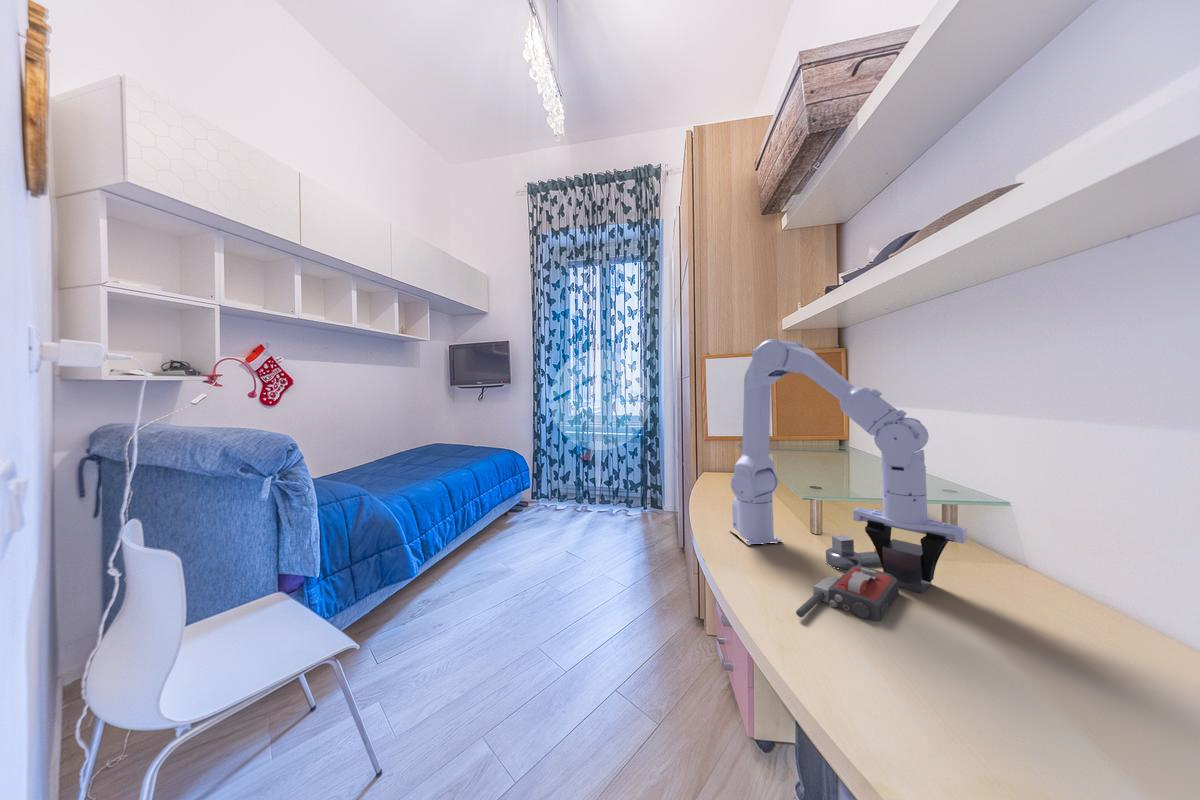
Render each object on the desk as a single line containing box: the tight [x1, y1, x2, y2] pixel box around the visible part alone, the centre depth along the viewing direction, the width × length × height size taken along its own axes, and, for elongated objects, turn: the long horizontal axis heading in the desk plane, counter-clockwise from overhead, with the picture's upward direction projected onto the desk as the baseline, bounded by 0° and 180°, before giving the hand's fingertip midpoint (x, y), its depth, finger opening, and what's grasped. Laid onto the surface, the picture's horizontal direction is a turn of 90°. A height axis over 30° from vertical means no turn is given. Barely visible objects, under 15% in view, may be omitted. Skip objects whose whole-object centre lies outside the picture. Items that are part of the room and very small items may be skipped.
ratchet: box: [825, 534, 881, 572], centre depth 70 cm, size 16×6×5 cm, turn 95°
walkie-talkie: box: [795, 566, 900, 622], centre depth 57 cm, size 9×4×20 cm
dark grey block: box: [882, 538, 932, 595], centre depth 62 cm, size 5×5×6 cm
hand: (907, 573), depth 62 cm, fingers closed on dark grey block, 5 cm apart
